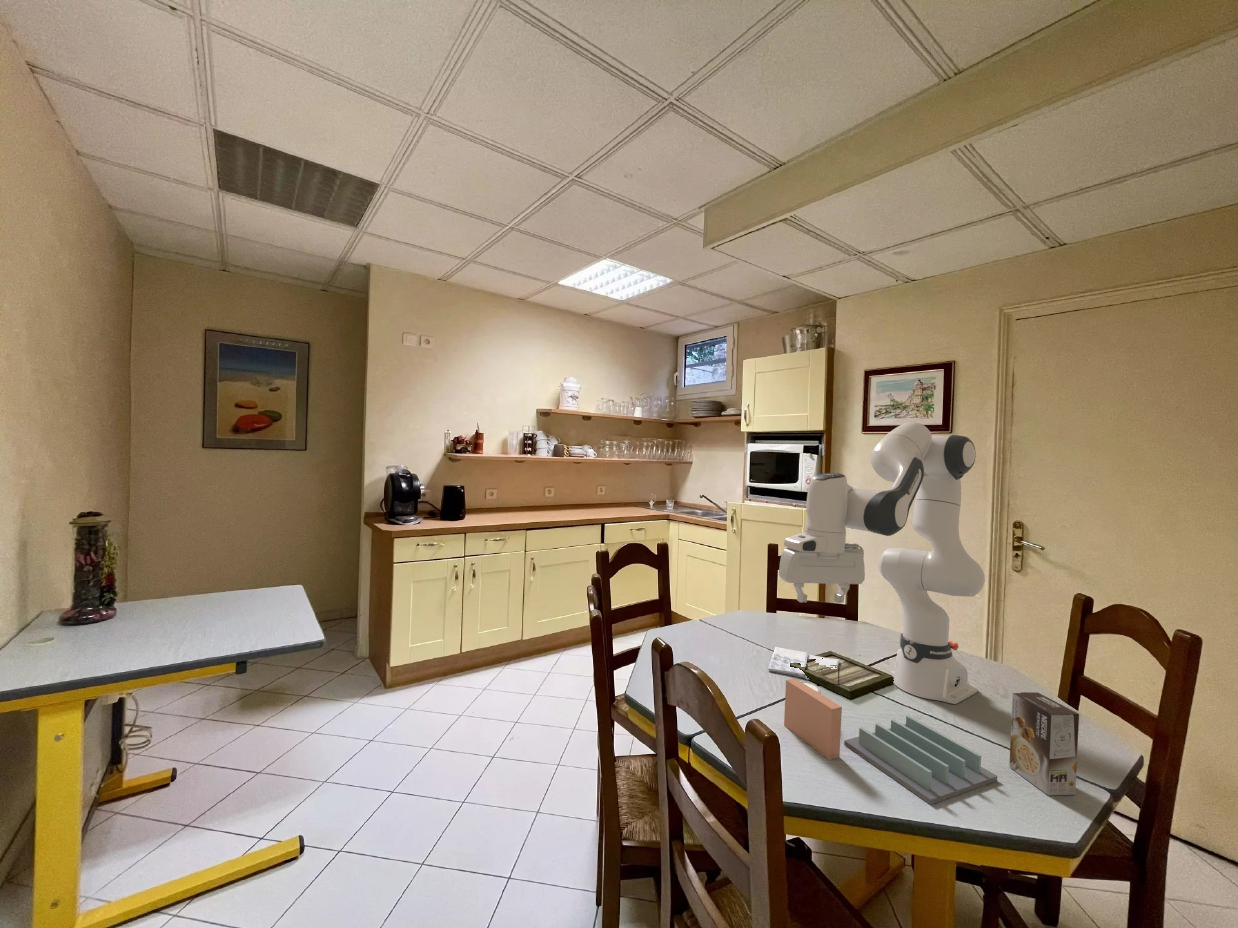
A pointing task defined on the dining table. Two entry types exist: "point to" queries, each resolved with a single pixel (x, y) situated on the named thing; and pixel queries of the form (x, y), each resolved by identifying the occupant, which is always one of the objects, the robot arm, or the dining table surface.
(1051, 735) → the coffee box
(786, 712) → the salmon pink panel
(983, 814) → the dining table surface
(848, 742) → the dish rack
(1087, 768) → the dining table surface
